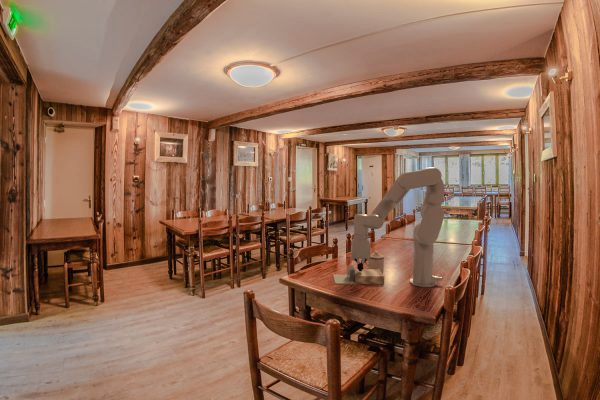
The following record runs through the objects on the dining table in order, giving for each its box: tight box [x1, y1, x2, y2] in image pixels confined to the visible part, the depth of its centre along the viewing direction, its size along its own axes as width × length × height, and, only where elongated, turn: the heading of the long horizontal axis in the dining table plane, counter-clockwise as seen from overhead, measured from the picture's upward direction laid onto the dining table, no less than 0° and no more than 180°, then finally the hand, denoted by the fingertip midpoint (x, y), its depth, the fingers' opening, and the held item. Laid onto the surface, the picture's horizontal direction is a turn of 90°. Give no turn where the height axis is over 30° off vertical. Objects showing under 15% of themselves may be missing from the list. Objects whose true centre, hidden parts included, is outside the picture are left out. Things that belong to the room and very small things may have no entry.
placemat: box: [332, 273, 355, 285], centre depth 170 cm, size 10×15×1 cm, turn 178°
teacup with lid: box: [364, 251, 385, 273], centre depth 186 cm, size 12×9×12 cm
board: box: [354, 268, 385, 285], centre depth 169 cm, size 15×13×4 cm
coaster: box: [346, 264, 356, 283], centre depth 170 cm, size 6×9×2 cm
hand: (360, 270), depth 169 cm, fingers closed
